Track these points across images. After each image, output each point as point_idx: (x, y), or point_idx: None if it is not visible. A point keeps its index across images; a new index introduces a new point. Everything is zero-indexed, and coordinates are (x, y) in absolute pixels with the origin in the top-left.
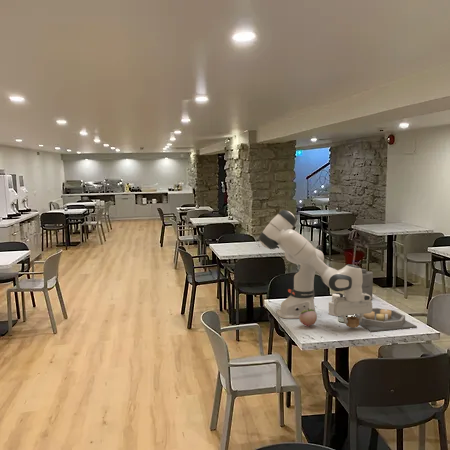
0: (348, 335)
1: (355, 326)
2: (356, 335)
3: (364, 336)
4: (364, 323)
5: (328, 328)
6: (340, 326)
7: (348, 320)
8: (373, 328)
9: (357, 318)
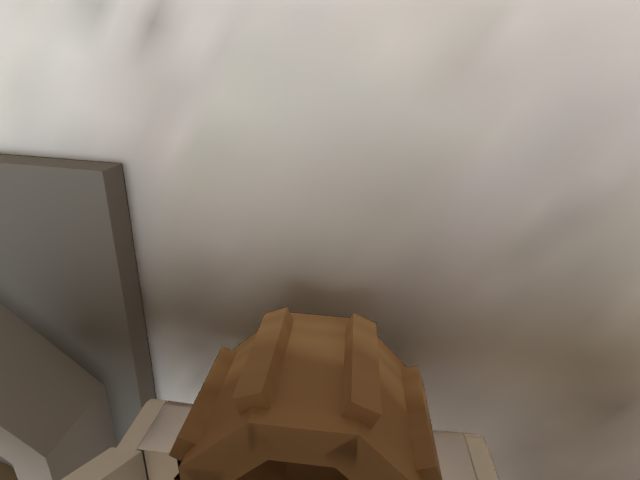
0: (565, 147)
1: (316, 324)
2: (430, 102)
3: (320, 3)
4: (95, 405)
5: (612, 467)
6: None
7: (439, 472)
8: (28, 231)
9: (208, 472)
